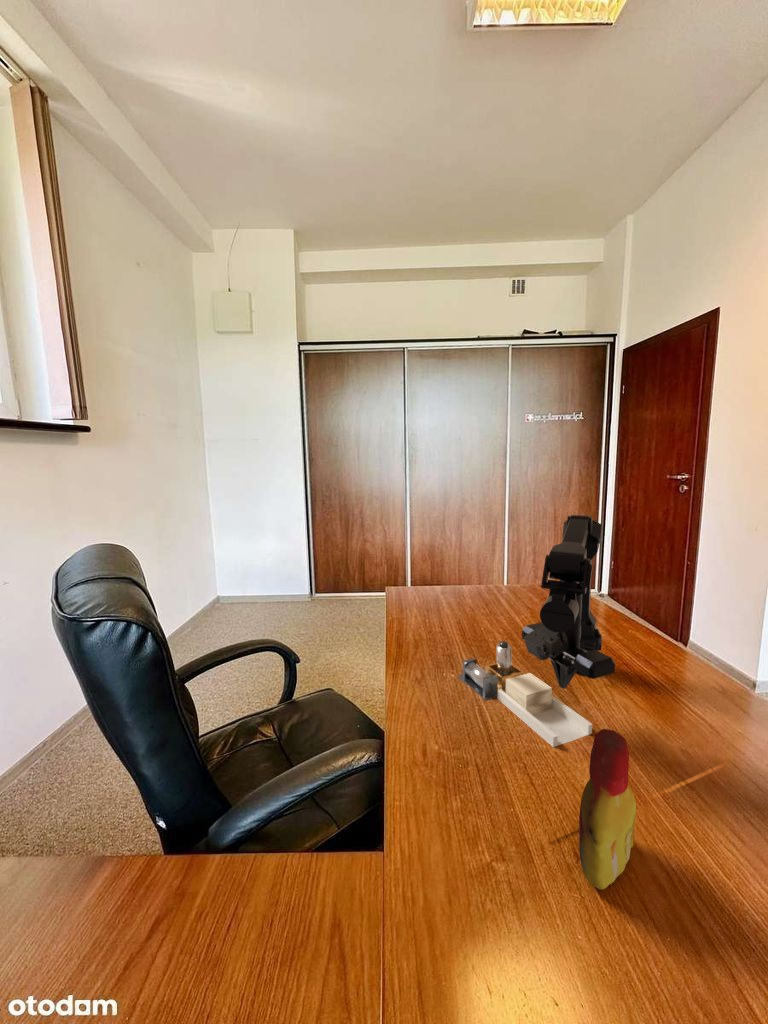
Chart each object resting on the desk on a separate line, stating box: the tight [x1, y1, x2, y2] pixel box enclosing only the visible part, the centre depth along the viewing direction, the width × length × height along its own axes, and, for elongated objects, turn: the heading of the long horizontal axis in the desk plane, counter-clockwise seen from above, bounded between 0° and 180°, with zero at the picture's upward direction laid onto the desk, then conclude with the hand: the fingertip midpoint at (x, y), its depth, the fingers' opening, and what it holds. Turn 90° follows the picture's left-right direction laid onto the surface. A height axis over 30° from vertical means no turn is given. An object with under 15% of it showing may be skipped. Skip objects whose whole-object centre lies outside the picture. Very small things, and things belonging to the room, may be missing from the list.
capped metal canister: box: [495, 640, 513, 677], centre depth 103 cm, size 4×4×10 cm
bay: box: [497, 690, 593, 748], centre depth 89 cm, size 10×18×2 cm, turn 21°
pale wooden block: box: [506, 672, 553, 715], centre depth 93 cm, size 7×8×5 cm
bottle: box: [578, 728, 637, 891], centre depth 56 cm, size 12×6×20 cm, turn 134°
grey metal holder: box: [457, 657, 526, 701], centre depth 103 cm, size 16×12×5 cm
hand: (562, 687), depth 82 cm, fingers closed
